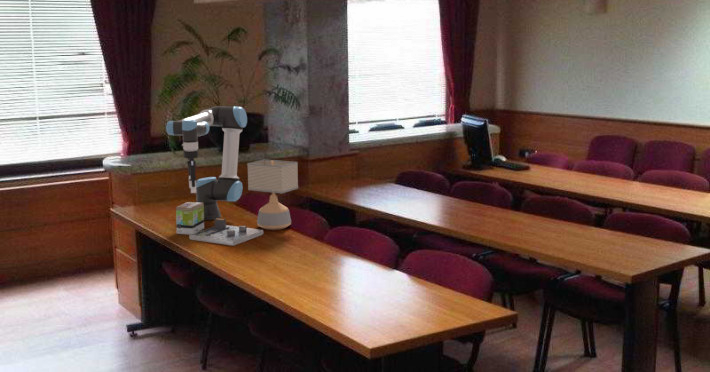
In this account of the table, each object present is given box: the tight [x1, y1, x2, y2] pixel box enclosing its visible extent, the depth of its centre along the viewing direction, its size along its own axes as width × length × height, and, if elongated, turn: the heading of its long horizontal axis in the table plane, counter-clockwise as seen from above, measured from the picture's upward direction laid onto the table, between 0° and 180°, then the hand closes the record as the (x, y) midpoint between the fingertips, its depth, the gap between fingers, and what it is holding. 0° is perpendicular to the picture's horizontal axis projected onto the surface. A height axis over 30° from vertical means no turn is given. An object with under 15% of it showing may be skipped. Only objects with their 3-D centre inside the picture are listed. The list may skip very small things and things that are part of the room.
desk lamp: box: [246, 158, 299, 231], centre depth 429 cm, size 22×19×37 cm
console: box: [188, 224, 264, 247], centre depth 412 cm, size 26×29×5 cm
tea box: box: [175, 201, 205, 235], centre depth 424 cm, size 15×10×15 cm
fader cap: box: [214, 217, 227, 229], centre depth 420 cm, size 3×5×5 cm, turn 61°
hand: (192, 190), depth 412 cm, fingers open, 13 cm apart
